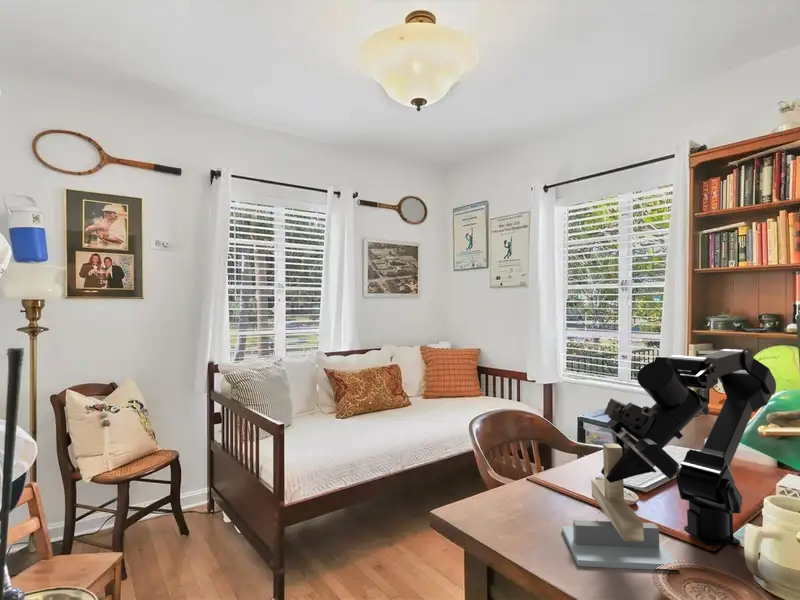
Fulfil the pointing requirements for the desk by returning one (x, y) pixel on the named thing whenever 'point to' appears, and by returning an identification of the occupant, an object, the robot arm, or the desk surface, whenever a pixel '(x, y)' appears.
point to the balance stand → (614, 546)
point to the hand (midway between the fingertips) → (605, 477)
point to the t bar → (616, 498)
